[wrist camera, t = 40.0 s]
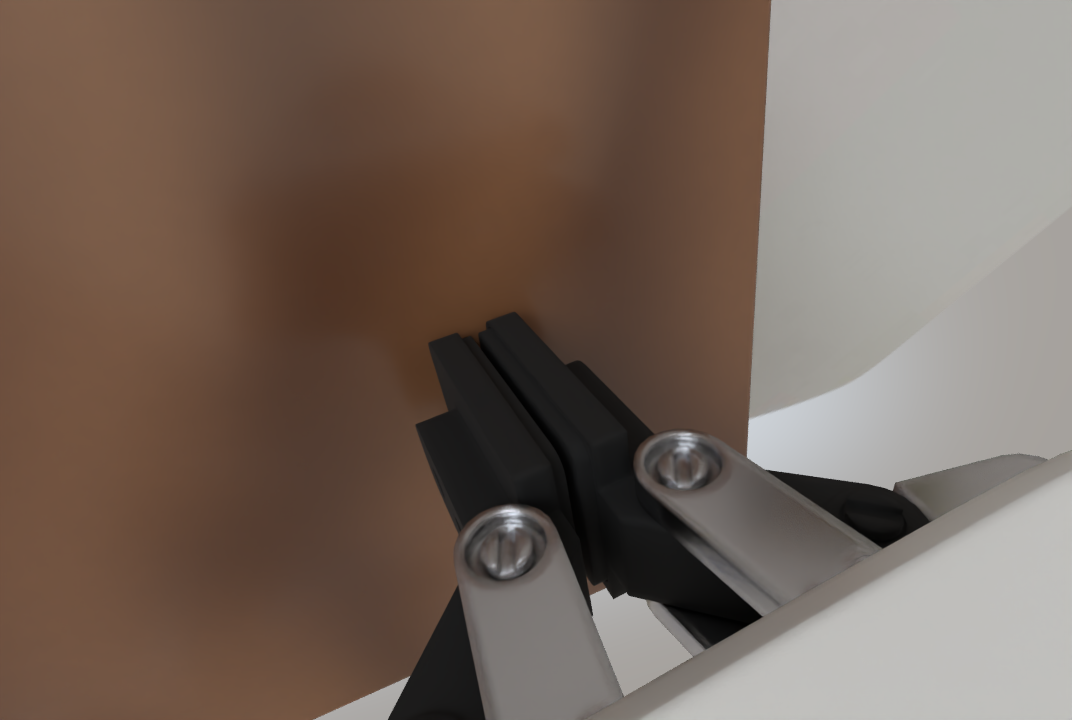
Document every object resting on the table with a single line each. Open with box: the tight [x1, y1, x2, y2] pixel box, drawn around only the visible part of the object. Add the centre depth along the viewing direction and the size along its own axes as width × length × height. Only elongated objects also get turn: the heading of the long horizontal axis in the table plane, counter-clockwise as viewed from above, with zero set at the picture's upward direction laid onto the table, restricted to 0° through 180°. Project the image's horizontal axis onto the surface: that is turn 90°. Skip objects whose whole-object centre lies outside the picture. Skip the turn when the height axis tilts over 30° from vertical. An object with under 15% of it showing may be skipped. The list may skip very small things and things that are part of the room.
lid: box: [0, 0, 771, 720], centre depth 11 cm, size 18×15×1 cm
